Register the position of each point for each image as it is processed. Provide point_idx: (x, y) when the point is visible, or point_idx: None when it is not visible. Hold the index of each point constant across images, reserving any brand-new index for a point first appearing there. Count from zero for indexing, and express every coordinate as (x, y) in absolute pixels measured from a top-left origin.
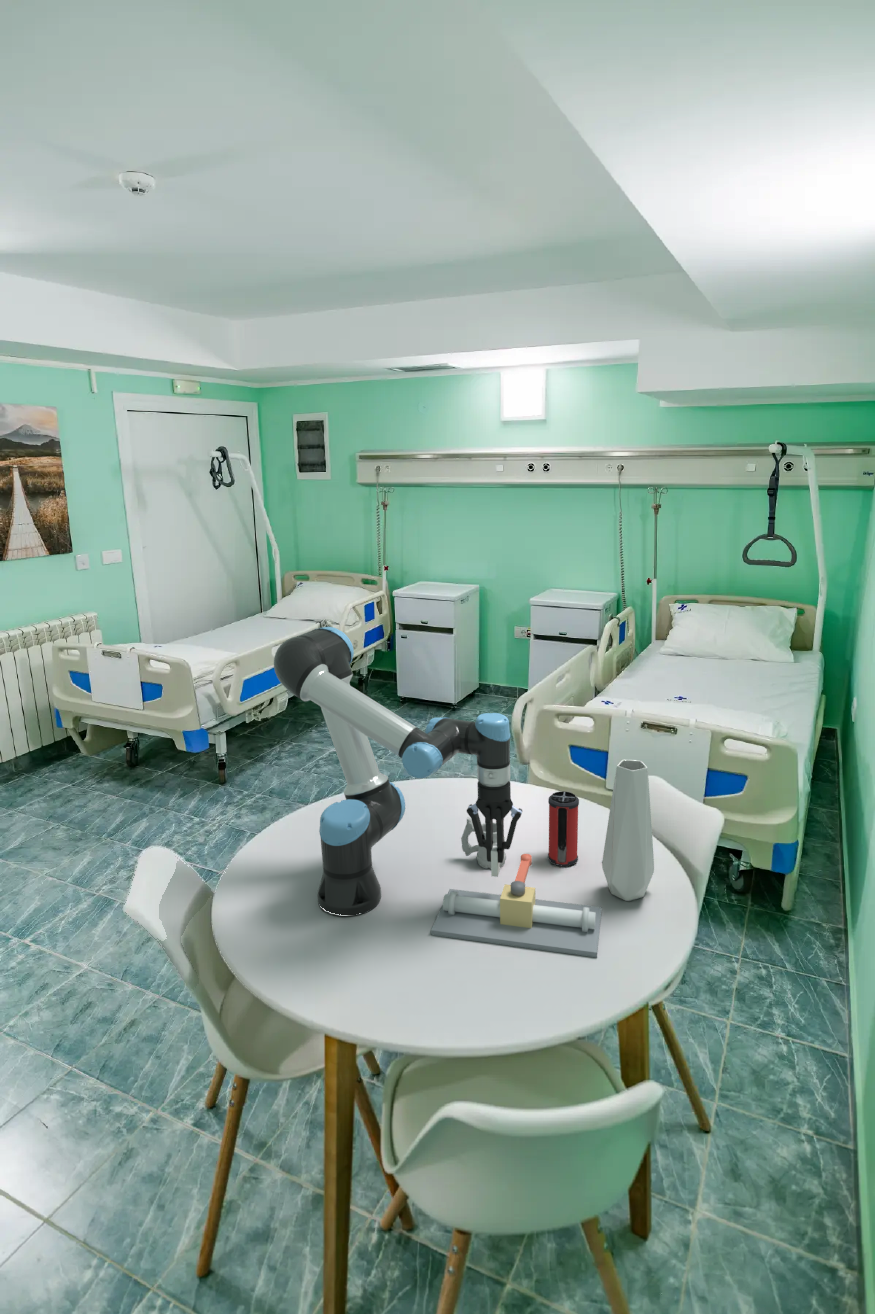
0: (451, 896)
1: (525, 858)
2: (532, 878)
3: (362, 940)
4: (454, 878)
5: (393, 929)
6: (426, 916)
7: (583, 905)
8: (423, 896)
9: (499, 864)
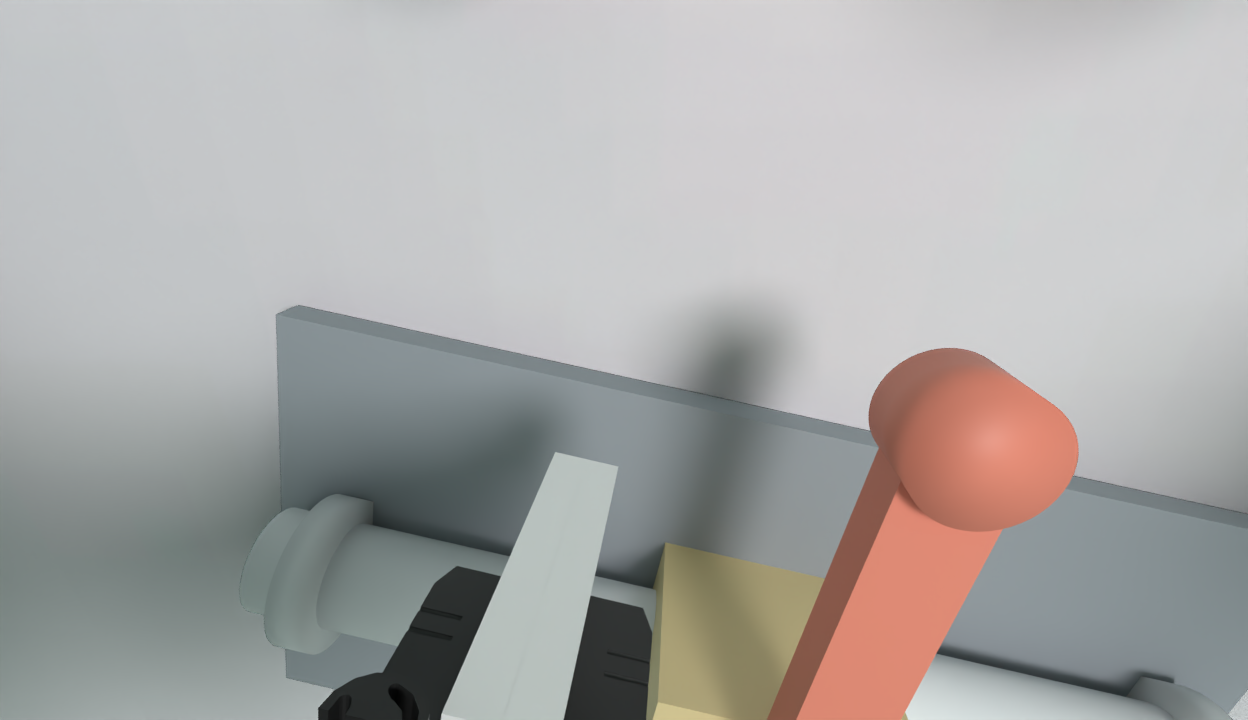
0: (284, 645)
1: (963, 515)
2: (938, 75)
3: (28, 664)
4: (281, 94)
5: (119, 608)
6: (234, 524)
7: (1228, 530)
8: (147, 338)
9: (606, 520)
